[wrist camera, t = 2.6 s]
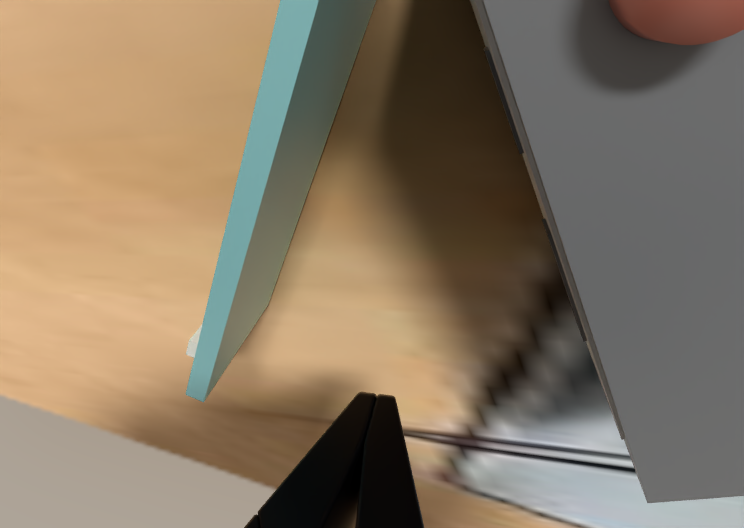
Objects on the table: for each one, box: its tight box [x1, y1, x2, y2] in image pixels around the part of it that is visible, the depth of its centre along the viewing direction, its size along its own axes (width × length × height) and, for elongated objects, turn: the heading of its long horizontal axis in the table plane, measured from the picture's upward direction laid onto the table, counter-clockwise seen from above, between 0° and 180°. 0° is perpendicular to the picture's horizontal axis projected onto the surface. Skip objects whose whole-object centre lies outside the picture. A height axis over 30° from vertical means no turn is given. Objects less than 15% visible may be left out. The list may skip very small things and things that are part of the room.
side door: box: [186, 0, 376, 402], centre depth 9 cm, size 12×1×4 cm, turn 157°
